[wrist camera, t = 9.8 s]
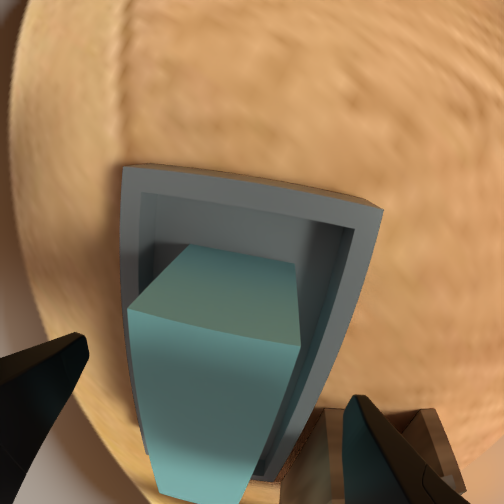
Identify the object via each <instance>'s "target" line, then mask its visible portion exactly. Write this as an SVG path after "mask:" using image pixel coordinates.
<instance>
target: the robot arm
mask: <svg viewBox="0 0 504 504" xmlns="http://www.w3.org/2000/svg"><path fill="white" fill-rule="evenodd" d="M88 359H89V349H88V345H87V340H86V337H85V336H84V335H82V334H80V333H77V332H73V333H71V334H68V335H65V336H62V337H59V338H57V339H54V340H51V341H48V342H45V343H42V344H40V345H37V346H34V347H31V348H28V349H25V350H22V351H19V352H16V353H14V354H11V355H8V356H5V357H2V358H0V504H13V502H14V499H15V497H16V495H17V493H18V491H19V489H20V487H21V484H22V482H23V480H24V478H25V476H26V473H27V472H28V470H29V468H30V466H31V464H32V462H33V460H34V458H35V456H36V455H37V453H38V451H39V449H40V447H41V445H42V443H43V441H44V440H45V438H46V436H47V434H48V433H49V431H50V429H51V427H52V426H53V424H54V422H55V420H56V419H57V417H58V415H59V413H60V412H61V410H62V409H63V407H64V405H65V403H66V402H67V400H68V399H69V397H70V395H71V394H72V392H73V390H74V388H75V386H76V384H77V382H78V380H79V378H80V376H81V374H82V371H83V369H84V367H85V365H86V363H87V361H88ZM342 466H343V481H344V498H345V504H470V503H469V502H468V501H467V500H465V499H464V498H463V497H462V496H461V495H460V494H458V493H457V492H456V491H455V490H454V489H452V488H451V487H450V486H449V485H448V484H447V483H446V482H445V481H444V480H443V479H442V478H441V477H440V476H439V475H438V474H437V473H436V472H435V471H434V470H433V469H432V468H431V467H430V466H429V465H428V464H426V461H425V460H424V459H423V458H422V457H421V456H420V455H419V454H418V453H417V452H416V450H415V449H414V448H413V447H412V446H411V445H410V444H409V443H408V442H407V440H406V439H405V438H404V437H403V436H402V435H401V434H400V433H399V432H398V431H397V429H396V428H395V427H394V426H393V425H392V424H391V423H390V422H389V420H388V419H387V418H386V417H385V416H384V415H383V414H382V413H381V412H380V410H379V409H378V408H377V407H376V406H375V405H374V404H373V403H372V401H371V400H370V399H369V398H368V397H367V396H366V395H353V396H352V398H351V399H350V401H349V403H348V405H347V406H346V408H345V410H344V413H343V433H342Z"/></svg>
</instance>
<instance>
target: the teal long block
mask: <svg viewBox="0 0 504 504" xmlns="http://www.w3.org/2000/svg"><path fill="white" fill-rule="evenodd" d="M127 312H128V326H129V338H130V348H131V357H132V365H133V373H134V380H135V387H136V393H137V399H138V405H139V411H140V416H141V421H142V426H143V431H144V436H145V440H146V445H147V449H148V453H149V457H150V461H151V465H152V469H153V473H154V476H155V480H156V483H157V487H158V490H159V493H161V494H164V495H168V496H171V497H174V498H178V499H182V500H186V501H189V502H193V503H198V504H239V502H240V500H241V498H242V496H243V493H244V491H245V489H246V487H247V485H248V483H249V480H250V478H251V476H252V474H253V471H254V469H255V467H256V465H257V462H258V460H259V458H260V455H261V453H262V451H263V448H264V446H265V443H266V441H267V438H268V436H269V433H270V431H271V428H272V426H273V423H274V421H275V418H276V415H277V413H278V410H279V408H280V405H281V402H282V400H283V397H284V394H285V391H286V388H287V386H288V383H289V380H290V377H291V374H292V371H293V368H294V366H295V363H296V360H297V357H298V354H299V351H300V347H301V341H300V325H299V310H298V297H297V284H296V272H295V264H294V263H288V262H283V261H278V260H273V259H267V258H262V257H257V256H251V255H246V254H241V253H235V252H230V251H225V250H220V249H214V248H209V247H204V246H199V245H193V244H190V245H189V246H187V247H186V248H185V249H184V250H183V251H182V252H181V253H180V254H179V255H178V256H177V257H176V258H175V259H174V260H173V261H172V262H171V263H170V264H169V265H168V266H167V267H166V268H165V269H164V270H163V271H162V273H161V274H160V275H159V276H158V277H157V278H156V279H155V280H154V281H153V282H152V283H151V284H150V285H149V286H148V287H147V288H146V289H145V290H144V291H143V292H142V293H141V294H140V295H139V296H138V297H137V298H136V299H135V300H134V302H133V303H132V304H131V305H130V306H129V307H128V308H127Z"/></svg>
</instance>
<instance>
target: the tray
mask: <svg viewBox="0 0 504 504" xmlns="http://www.w3.org/2000/svg"><path fill="white" fill-rule="evenodd" d="M383 211H384V210H383V209H382V208H380V207H378V206H376V205H375V204H373V203H371V202H369V201H368V200H366V199H362V198H358V197H354V196H350V195H345V194H341V193H336V192H332V191H327V190H323V189H318V188H313V187H308V186H303V185H298V184H293V183H287V182H282V181H277V180H271V179H265V178H259V177H253V176H247V175H241V174H234V173H227V172H220V171H213V170H206V169H198V168H190V167H181V166H172V165H162V164H152V163H149V164H140V165H131V166H123V173H122V187H121V206H120V282H121V300H122V314H123V326H124V336H125V345H126V353H127V360H128V367H129V374H130V380H131V386H132V392H133V398H134V403H135V408H136V413H137V418H138V423H139V427H140V431H141V436H142V440H143V444H144V448H145V452H146V454H147V455H149V453H148V449H147V445H146V440H145V436H144V431H143V426H142V421H141V416H140V411H139V405H138V399H137V393H136V387H135V380H134V373H133V365H132V357H131V348H130V338H129V326H128V312H127V308H128V307H129V306H130V305H131V304H132V303H133V302H134V300H135V299H136V298H137V297H138V296H139V295H140V294H141V293H142V292H143V291H144V290H145V289H146V288H147V287H148V286H149V285H150V284H151V283H152V282H153V281H154V280H155V279H156V278H157V277H158V276H159V275H160V274H161V273H162V271H163V270H164V269H165V268H166V267H167V266H168V265H169V264H170V263H171V262H172V261H173V260H174V259H175V258H176V257H177V256H178V255H179V254H180V253H181V252H182V251H183V250H184V249H185V248H186V247H187V246H189V245H190V244H193V245H199V246H204V247H209V248H214V249H220V250H225V251H230V252H235V253H241V254H246V255H251V256H257V257H262V258H267V259H273V260H278V261H283V262H288V263H294V264H295V272H296V284H297V297H298V310H299V325H300V341H301V347H300V351H299V354H298V357H297V360H296V363H295V366H294V368H293V371H292V374H291V377H290V380H289V383H288V386H287V388H286V391H285V394H284V397H283V400H282V402H281V405H280V408H279V410H278V413H277V415H276V418H275V421H274V423H273V426H272V428H271V431H270V433H269V436H268V438H267V441H266V443H265V446H264V448H263V451H262V453H261V455H260V458H259V460H258V462H257V465H256V467H255V469H254V471H253V474H252V476H251V478H250V479H251V480H259V481H267V482H274V480H275V478H276V477H277V475H278V473H279V472H280V470H281V468H282V467H283V465H284V463H285V461H286V460H287V458H288V456H289V454H290V453H291V451H292V449H293V447H294V445H295V444H296V442H297V440H298V438H299V436H300V434H301V432H302V430H303V428H304V426H305V424H306V422H307V420H308V418H309V416H310V414H311V412H312V410H313V408H314V406H315V404H316V402H317V400H318V398H319V396H320V393H321V391H322V389H323V387H324V385H325V382H326V380H327V378H328V376H329V373H330V371H331V369H332V366H333V364H334V362H335V359H336V357H337V354H338V352H339V349H340V347H341V344H342V342H343V339H344V337H345V334H346V331H347V329H348V326H349V323H350V321H351V318H352V315H353V312H354V309H355V307H356V304H357V301H358V298H359V295H360V292H361V289H362V286H363V283H364V280H365V276H366V273H367V270H368V267H369V263H370V260H371V256H372V253H373V250H374V246H375V242H376V239H377V235H378V231H379V227H380V223H381V219H382V215H383Z"/></svg>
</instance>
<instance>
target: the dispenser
mask: <svg viewBox="0 0 504 504" xmlns="http://www.w3.org/2000/svg"><path fill="white" fill-rule="evenodd" d="M343 413H344V409H328V408H325V409H324V410H323V412H322V414H321V416H320V418H319V420H318V422H317V424H316V425H315V427H314V429H313V431H312V433H311V434H310V436H309V438H308V440H307V441H306V443H305V445H304V447H303V448H302V450H301V452H300V453H299V455H298V457H297V458H296V460H295V461H294V463H293V465H292V466H291V468H290V469H289V471H288V473H287V474H286V476H285V477H284V479H283V480H282V482H281V487H280V501H279V504H345V498H344V481H343V466H342V433H343ZM401 435H402V436H403V437H404V438H405V439H406V440H407V442H408V443H409V444H410V445H411V446H412V447H413V448H414V449H415V450H416V452H417V453H418V454H419V455H420V456H421V457H422V458H423V459H424V460H425V461H426V464H428V465H429V466H430V467H431V468H432V469H433V470H434V471H435V472H436V473H437V474H438V475H439V476H440V477H441V478H442V479H443V480H444V481H445V482H446V483H447V484H448V485H449V486H450V487H451V488H452V489H454V490H455V491H456V492H457V493H458V494H460V495H462V494H463V493H464V492H466V491H467V490H466V487H465V484H464V481H463V478H462V475H461V472H460V469H459V467H458V464H457V461H456V458H455V456H454V453H453V451H452V448H451V445H450V443H449V440H448V438H447V435H446V433H445V431H444V428H443V426H442V423H441V421H440V419H439V416H438V414H437V412H436V410H435V409H421V410H420V411H419V412H418V413H417V415H416V416H415V417H414V419H413V420H412V421H411V423H410V424H409V425H408V426H407V428H406V429H405V430H404V431H403V433H402V434H401Z"/></svg>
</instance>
